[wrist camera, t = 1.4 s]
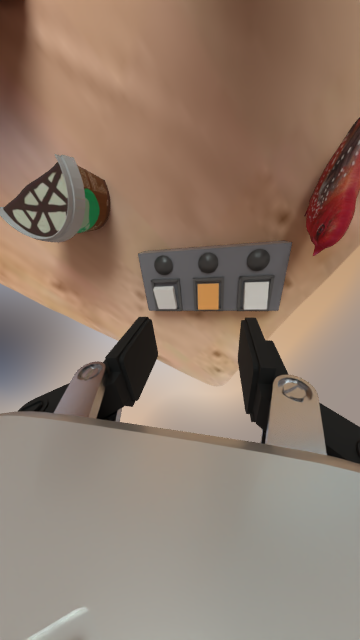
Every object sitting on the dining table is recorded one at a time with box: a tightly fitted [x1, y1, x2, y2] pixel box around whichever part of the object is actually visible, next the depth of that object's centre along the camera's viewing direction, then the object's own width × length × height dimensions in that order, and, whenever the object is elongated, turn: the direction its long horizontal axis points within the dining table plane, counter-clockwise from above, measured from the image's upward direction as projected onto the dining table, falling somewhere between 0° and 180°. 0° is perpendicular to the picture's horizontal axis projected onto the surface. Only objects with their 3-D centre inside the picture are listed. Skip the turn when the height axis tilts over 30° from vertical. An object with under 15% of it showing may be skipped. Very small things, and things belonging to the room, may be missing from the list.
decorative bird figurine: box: [305, 118, 360, 256], centre depth 17 cm, size 3×18×10 cm, turn 169°
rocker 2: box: [243, 282, 269, 310], centre depth 26 cm, size 4×3×1 cm
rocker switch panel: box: [138, 240, 292, 311], centre depth 28 cm, size 10×22×4 cm, turn 95°
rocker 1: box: [153, 286, 177, 309], centre depth 29 cm, size 4×3×1 cm
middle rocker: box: [198, 283, 219, 310], centre depth 27 cm, size 4×3×1 cm
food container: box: [0, 154, 110, 242], centre depth 24 cm, size 12×6×10 cm, turn 112°
